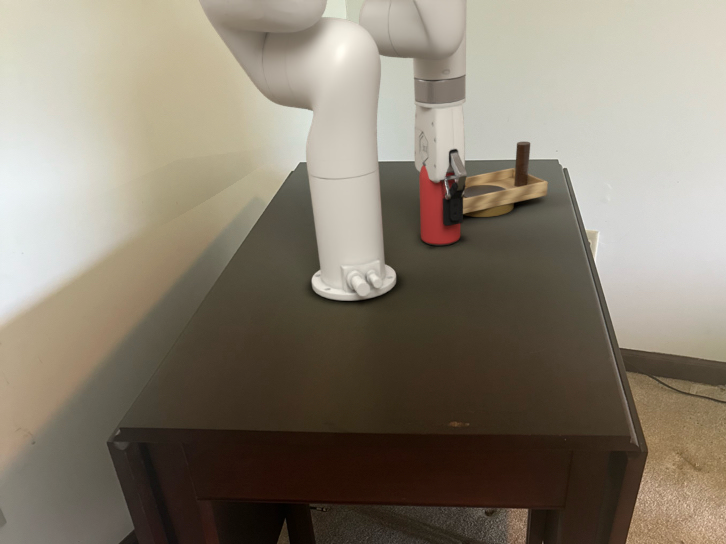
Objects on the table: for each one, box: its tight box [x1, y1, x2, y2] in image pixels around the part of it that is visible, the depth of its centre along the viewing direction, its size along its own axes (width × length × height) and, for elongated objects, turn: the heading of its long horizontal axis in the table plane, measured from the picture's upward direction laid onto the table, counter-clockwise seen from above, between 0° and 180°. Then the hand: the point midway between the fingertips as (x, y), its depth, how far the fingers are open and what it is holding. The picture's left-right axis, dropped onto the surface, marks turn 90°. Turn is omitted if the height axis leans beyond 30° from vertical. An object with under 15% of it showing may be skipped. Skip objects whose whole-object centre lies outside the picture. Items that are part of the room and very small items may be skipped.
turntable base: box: [463, 202, 515, 218], centre depth 123 cm, size 11×11×2 cm
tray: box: [463, 141, 549, 214], centre depth 120 cm, size 20×11×8 cm, turn 117°
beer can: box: [418, 162, 461, 247], centre depth 108 cm, size 7×7×12 cm
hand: (441, 214), depth 110 cm, fingers open, 9 cm apart
